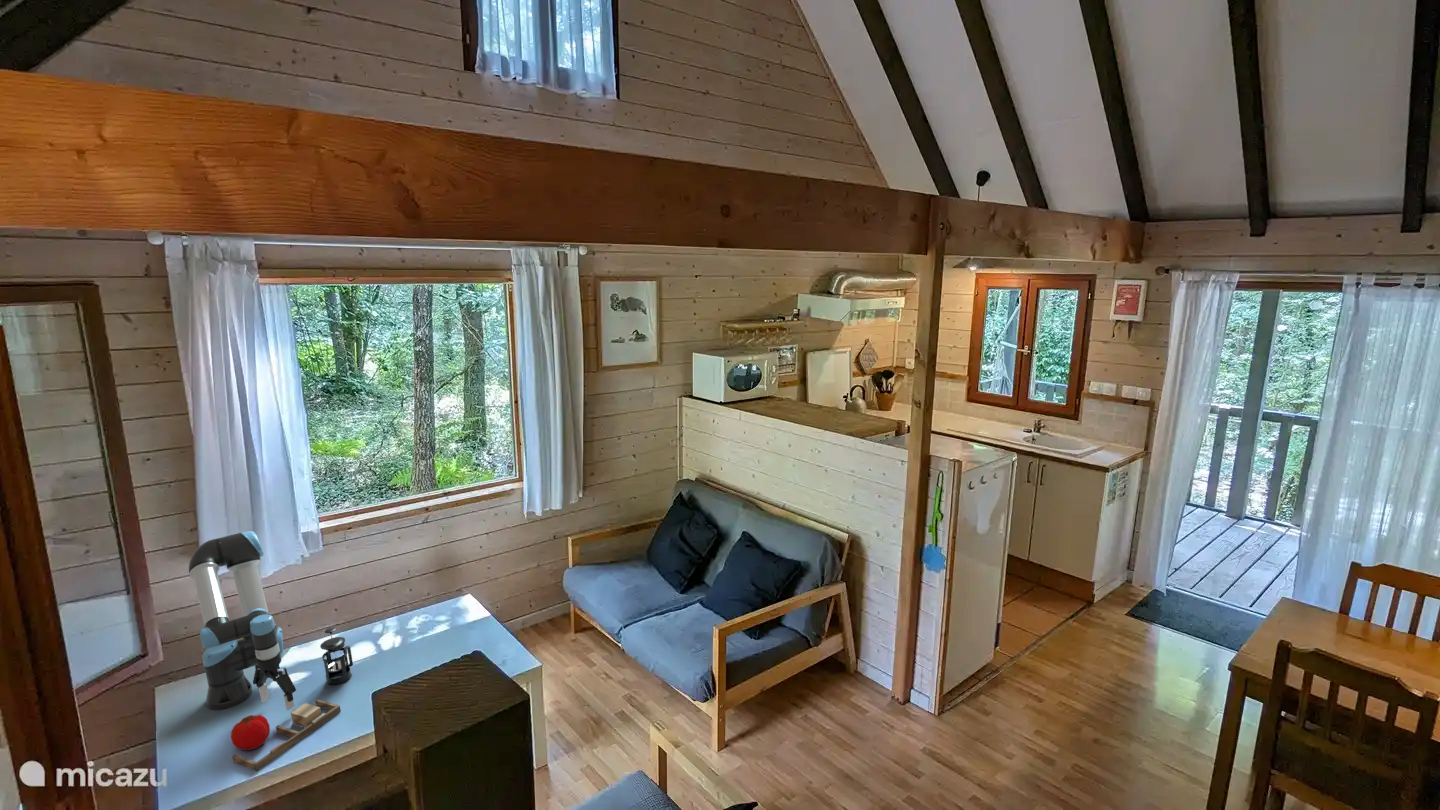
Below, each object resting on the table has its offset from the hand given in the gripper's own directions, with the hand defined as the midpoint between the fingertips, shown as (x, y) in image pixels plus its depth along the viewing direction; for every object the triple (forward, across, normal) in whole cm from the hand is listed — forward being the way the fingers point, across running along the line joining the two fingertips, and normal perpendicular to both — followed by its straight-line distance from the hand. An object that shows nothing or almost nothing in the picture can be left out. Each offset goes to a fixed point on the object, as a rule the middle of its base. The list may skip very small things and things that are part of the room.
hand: (277, 704), depth 263 cm
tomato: (+3, +8, -16) cm, 19 cm away
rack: (+3, +17, -8) cm, 19 cm away
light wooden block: (+3, +16, 0) cm, 16 cm away
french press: (+4, +4, +24) cm, 24 cm away
